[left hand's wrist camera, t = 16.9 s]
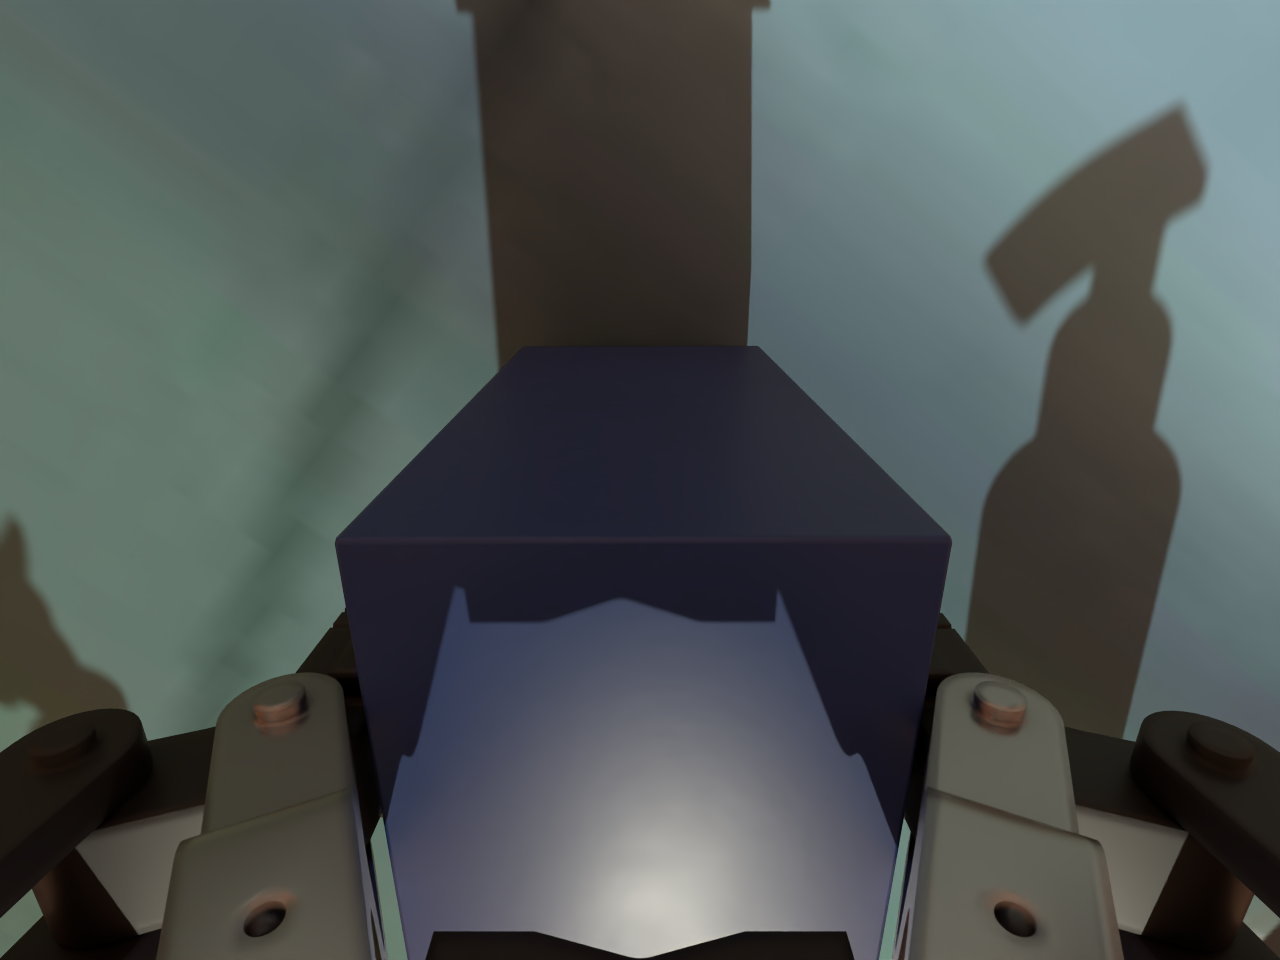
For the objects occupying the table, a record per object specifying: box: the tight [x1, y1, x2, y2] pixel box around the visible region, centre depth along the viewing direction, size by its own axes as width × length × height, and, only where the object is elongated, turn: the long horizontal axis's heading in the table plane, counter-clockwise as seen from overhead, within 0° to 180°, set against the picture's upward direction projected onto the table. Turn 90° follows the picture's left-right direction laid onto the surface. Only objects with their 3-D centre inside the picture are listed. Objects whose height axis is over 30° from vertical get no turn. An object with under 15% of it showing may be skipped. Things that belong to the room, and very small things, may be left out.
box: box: [335, 346, 952, 960], centre depth 17 cm, size 28×6×11 cm, turn 0°
